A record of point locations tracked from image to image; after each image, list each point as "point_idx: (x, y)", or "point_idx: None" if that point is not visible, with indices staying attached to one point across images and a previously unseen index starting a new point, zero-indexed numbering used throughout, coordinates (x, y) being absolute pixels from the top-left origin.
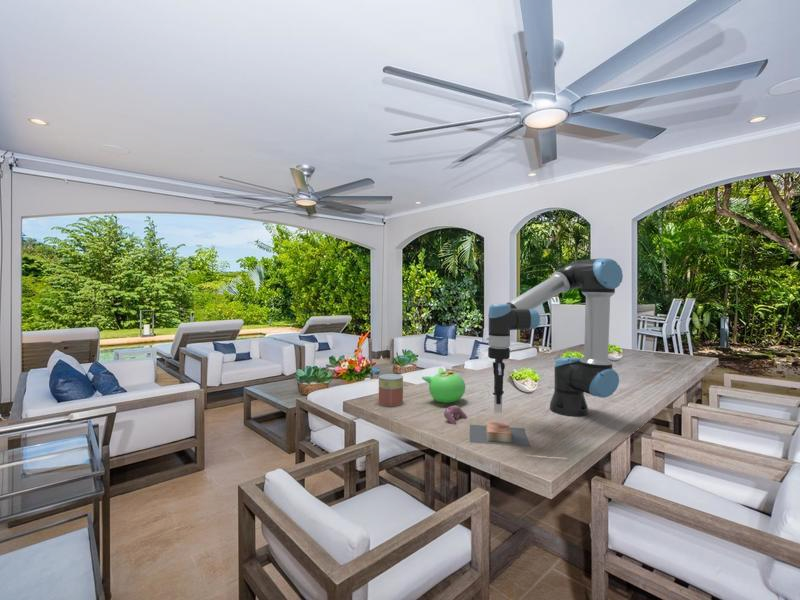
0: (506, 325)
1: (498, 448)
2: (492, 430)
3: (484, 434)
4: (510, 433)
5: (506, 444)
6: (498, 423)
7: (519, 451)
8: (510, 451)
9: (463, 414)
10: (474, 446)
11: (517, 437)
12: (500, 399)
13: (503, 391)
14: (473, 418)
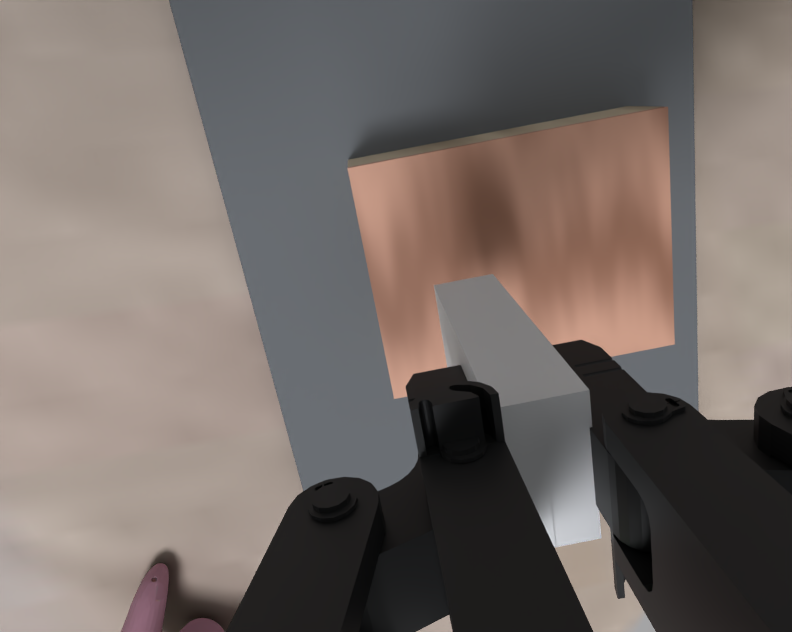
0: None
1: (732, 207)
2: (618, 307)
3: None
4: (661, 118)
5: (682, 147)
6: (389, 278)
7: (764, 17)
8: (777, 100)
9: (159, 615)
10: (729, 387)
11: (480, 54)
12: (627, 377)
13: (447, 405)
14: (92, 515)
